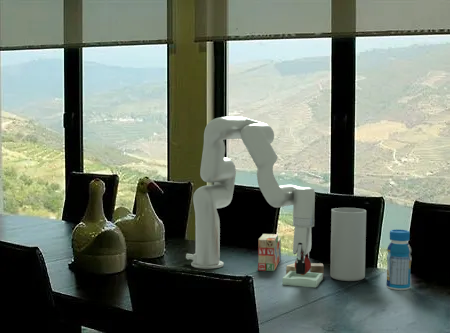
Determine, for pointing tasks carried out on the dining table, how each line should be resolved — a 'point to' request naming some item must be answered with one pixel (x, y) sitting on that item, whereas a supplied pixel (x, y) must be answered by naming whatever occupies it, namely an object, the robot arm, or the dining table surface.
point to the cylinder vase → (348, 244)
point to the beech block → (290, 268)
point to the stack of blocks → (269, 252)
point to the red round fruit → (306, 264)
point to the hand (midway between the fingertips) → (302, 271)
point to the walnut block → (317, 268)
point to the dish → (302, 279)
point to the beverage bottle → (399, 260)
